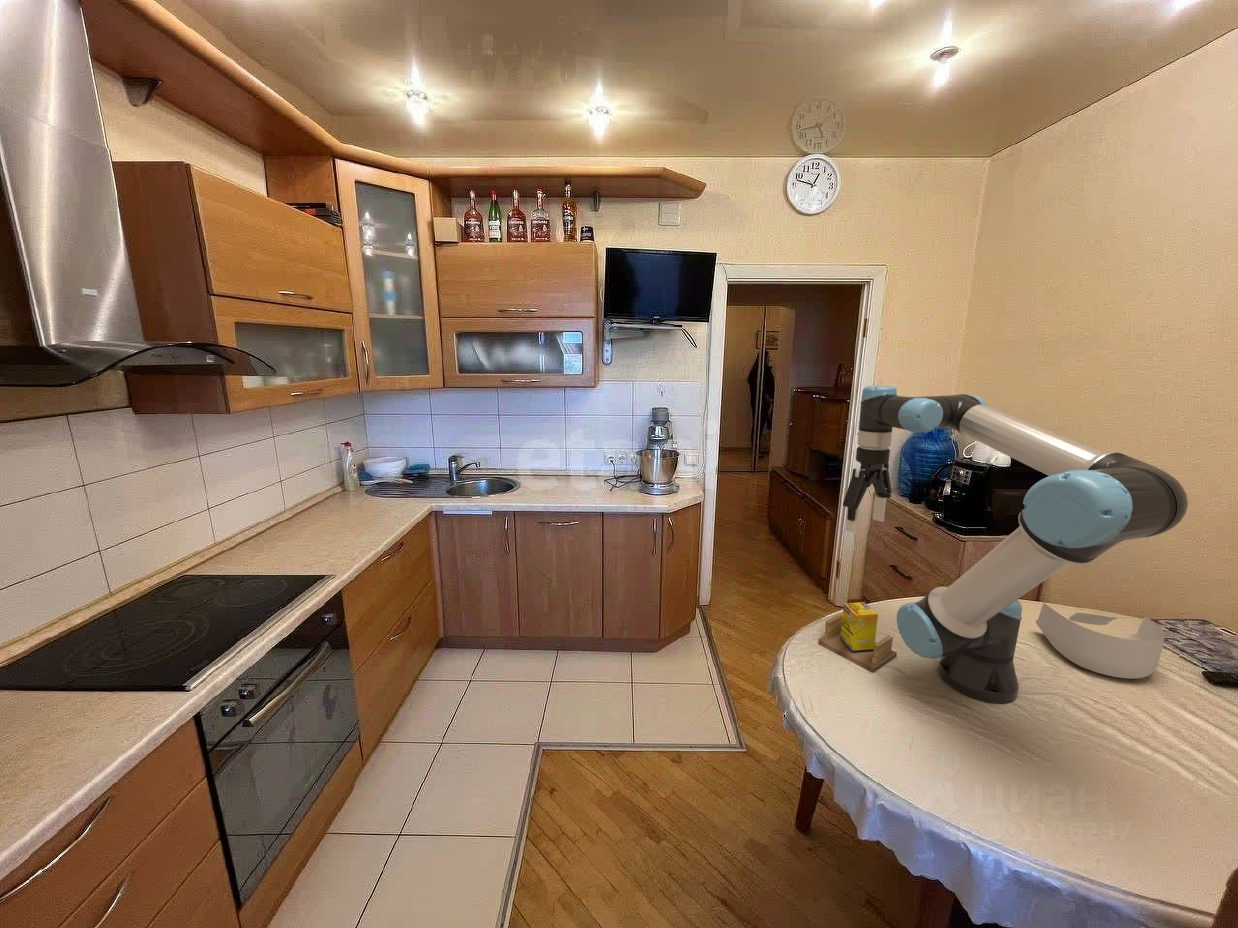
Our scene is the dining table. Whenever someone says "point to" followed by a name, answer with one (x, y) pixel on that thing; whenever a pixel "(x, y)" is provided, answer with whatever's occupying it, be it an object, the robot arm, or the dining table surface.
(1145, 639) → the bowl
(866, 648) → the supplement box
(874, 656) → the stand
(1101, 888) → the dining table surface
